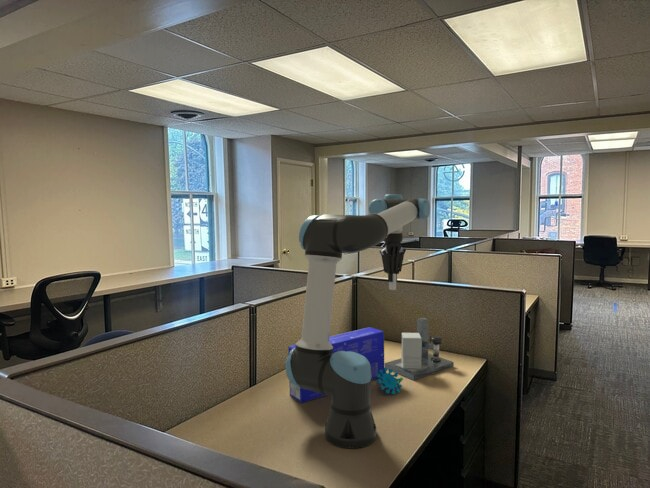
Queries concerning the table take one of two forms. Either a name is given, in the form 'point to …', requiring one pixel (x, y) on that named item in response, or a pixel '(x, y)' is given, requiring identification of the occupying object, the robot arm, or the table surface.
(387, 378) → the gear
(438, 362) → the plate
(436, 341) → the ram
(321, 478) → the table surface
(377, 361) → the toner cartridge box
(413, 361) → the supplement box
